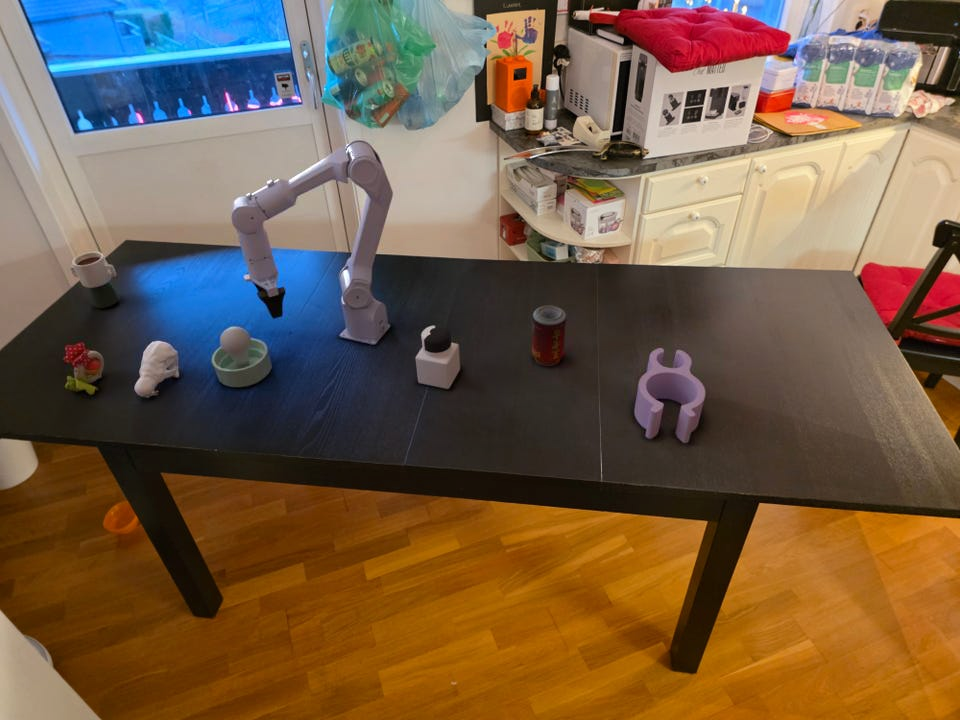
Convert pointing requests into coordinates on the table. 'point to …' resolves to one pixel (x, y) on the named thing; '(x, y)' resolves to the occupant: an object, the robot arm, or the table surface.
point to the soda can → (548, 334)
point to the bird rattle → (83, 367)
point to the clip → (669, 394)
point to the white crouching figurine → (156, 367)
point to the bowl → (243, 376)
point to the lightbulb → (236, 345)
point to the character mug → (96, 278)
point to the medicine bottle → (437, 358)
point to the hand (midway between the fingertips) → (272, 308)
